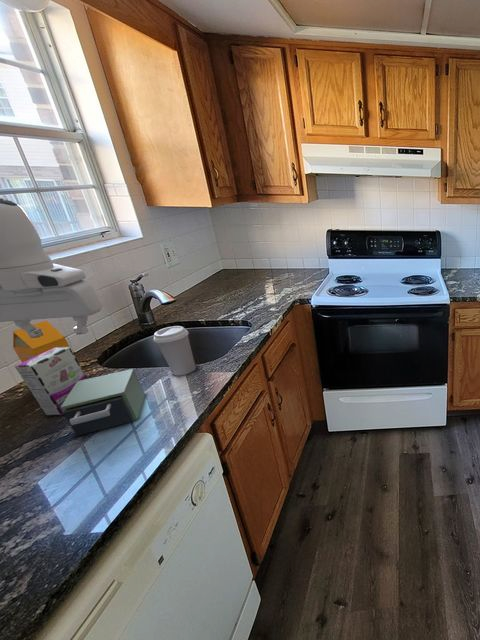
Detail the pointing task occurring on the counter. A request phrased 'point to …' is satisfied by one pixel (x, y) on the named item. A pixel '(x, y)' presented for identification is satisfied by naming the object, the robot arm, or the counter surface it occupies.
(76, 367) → the candy bar box
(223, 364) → the counter surface
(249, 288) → the counter surface
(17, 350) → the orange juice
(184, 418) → the counter surface
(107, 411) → the drawer with bar handle
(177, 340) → the coffee cup
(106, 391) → the drawer cabinet
